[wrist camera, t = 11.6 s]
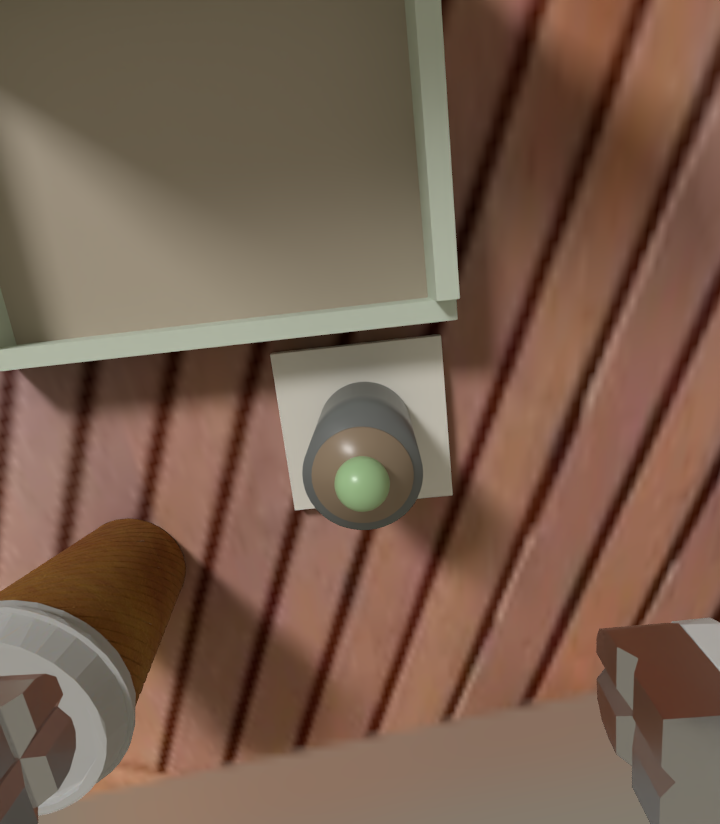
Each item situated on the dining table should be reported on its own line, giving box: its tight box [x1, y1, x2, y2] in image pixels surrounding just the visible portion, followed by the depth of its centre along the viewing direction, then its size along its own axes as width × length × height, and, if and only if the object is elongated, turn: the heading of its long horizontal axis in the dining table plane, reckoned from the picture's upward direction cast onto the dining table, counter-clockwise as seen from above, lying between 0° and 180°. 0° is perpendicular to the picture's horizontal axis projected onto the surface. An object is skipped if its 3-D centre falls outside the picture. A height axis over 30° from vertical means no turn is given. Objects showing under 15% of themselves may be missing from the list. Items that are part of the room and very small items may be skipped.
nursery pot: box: [302, 382, 423, 530], centre depth 24 cm, size 5×5×9 cm
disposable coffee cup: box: [0, 519, 186, 816], centre depth 26 cm, size 10×10×12 cm
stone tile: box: [270, 334, 453, 510], centre depth 28 cm, size 9×9×1 cm
